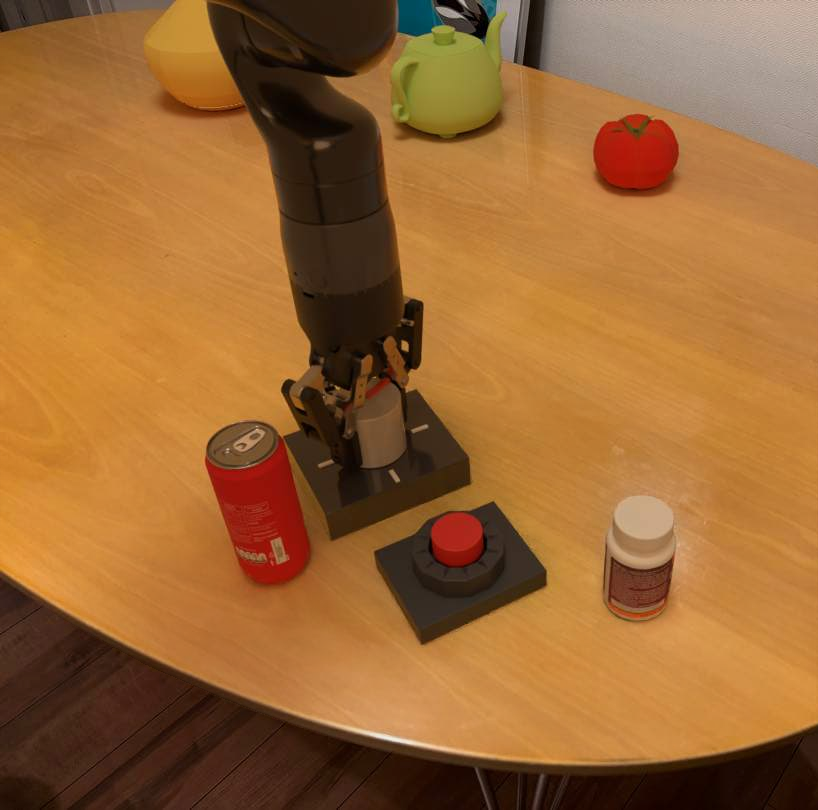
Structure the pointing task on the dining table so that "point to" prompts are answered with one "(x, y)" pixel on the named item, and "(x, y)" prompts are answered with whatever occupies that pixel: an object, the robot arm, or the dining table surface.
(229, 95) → the vase
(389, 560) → the control block
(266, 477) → the beverage can
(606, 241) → the dining table surface
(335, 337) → the robot arm
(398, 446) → the hob knob
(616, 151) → the tomato
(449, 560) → the button
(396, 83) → the teapot
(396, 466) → the panel
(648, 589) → the pill bottle
